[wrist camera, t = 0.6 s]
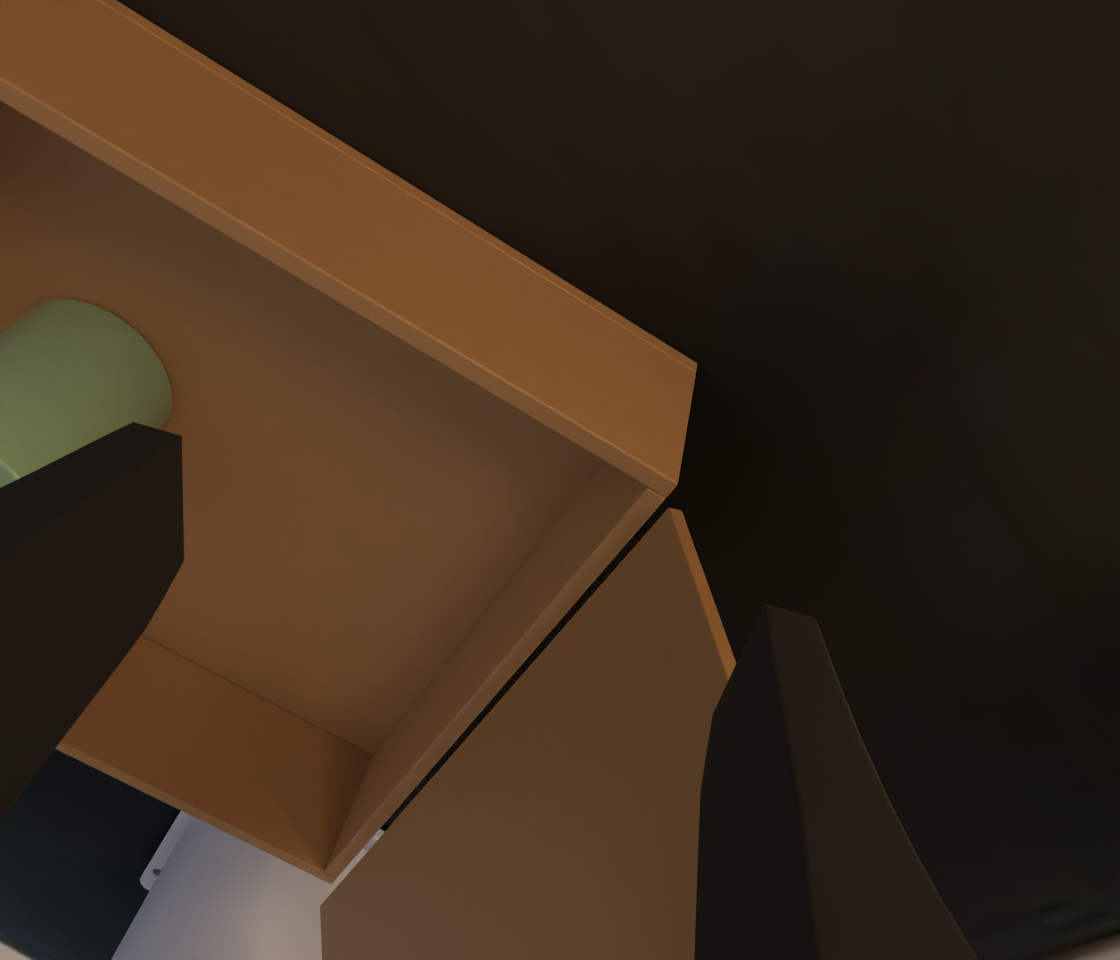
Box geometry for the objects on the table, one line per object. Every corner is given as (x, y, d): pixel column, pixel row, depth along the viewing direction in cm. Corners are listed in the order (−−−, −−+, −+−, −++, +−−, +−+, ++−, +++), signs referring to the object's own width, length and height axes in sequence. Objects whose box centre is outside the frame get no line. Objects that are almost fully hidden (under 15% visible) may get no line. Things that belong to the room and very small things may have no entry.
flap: (668, 506, 18) (682, 510, 18) (319, 905, 27) (330, 905, 27) (849, 1028, 12) (867, 1026, 12) (334, 1294, 22) (348, 1292, 22)
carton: (698, 363, 22) (678, 484, 18) (383, 757, 31) (331, 885, 28) (-62, -113, 19) (-259, -78, 15) (-148, 481, 29) (-280, 584, 25)
